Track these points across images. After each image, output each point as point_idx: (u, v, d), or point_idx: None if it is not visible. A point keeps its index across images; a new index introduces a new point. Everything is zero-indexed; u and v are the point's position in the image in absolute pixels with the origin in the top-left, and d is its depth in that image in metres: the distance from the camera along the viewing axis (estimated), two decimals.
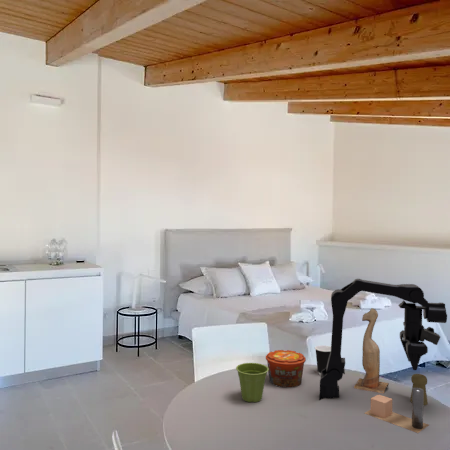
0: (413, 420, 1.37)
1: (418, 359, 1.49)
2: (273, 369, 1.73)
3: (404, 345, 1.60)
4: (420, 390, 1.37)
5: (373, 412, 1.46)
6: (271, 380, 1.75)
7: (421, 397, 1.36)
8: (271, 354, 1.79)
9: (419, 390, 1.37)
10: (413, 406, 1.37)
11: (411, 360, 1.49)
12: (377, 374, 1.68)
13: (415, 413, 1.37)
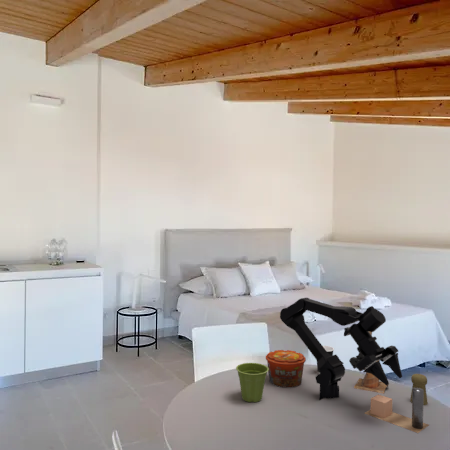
0: (413, 420, 1.37)
1: None
2: (273, 369, 1.73)
3: None
4: (420, 390, 1.37)
5: (373, 412, 1.46)
6: (271, 380, 1.75)
7: (421, 397, 1.36)
8: (271, 354, 1.79)
9: (419, 390, 1.37)
10: (413, 406, 1.37)
11: None
12: None
13: (415, 413, 1.37)
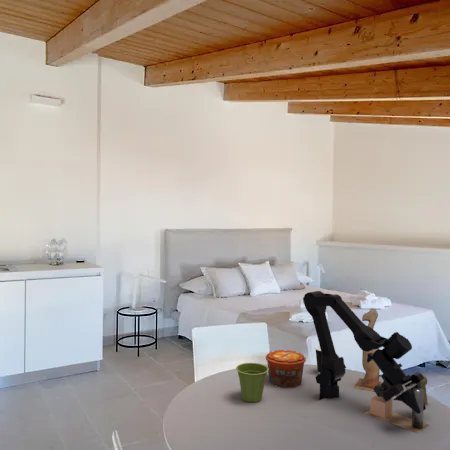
0: (413, 420, 1.37)
1: None
2: (273, 369, 1.73)
3: None
4: (420, 390, 1.37)
5: (373, 412, 1.46)
6: (271, 380, 1.75)
7: (421, 397, 1.36)
8: (271, 354, 1.79)
9: (419, 390, 1.37)
10: None
11: None
12: (377, 374, 1.68)
13: (415, 413, 1.37)
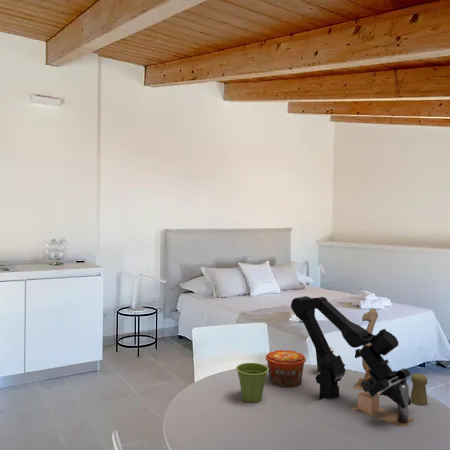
0: (398, 415, 1.41)
1: None
2: (273, 369, 1.73)
3: None
4: (405, 386, 1.40)
5: (360, 407, 1.49)
6: (271, 380, 1.75)
7: (406, 392, 1.40)
8: (271, 354, 1.79)
9: (404, 386, 1.40)
10: None
11: None
12: None
13: (400, 408, 1.40)
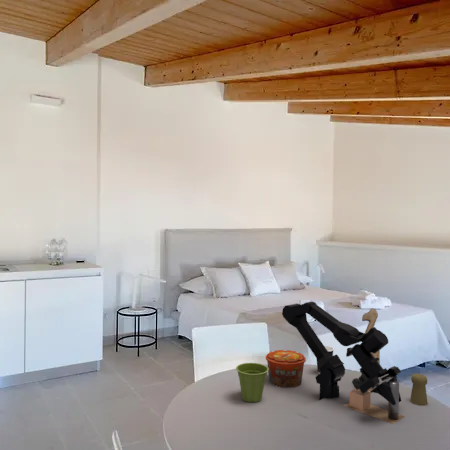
0: (389, 412, 1.43)
1: None
2: (273, 369, 1.73)
3: None
4: (395, 383, 1.43)
5: (352, 404, 1.52)
6: (271, 380, 1.75)
7: (396, 389, 1.42)
8: (271, 354, 1.79)
9: (395, 383, 1.43)
10: None
11: None
12: None
13: (390, 405, 1.42)
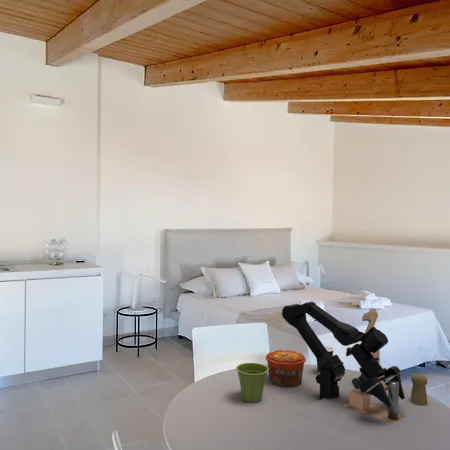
0: (389, 412, 1.43)
1: None
2: (273, 369, 1.73)
3: None
4: (395, 383, 1.43)
5: (352, 404, 1.52)
6: (271, 380, 1.75)
7: (396, 389, 1.42)
8: (271, 354, 1.79)
9: (394, 383, 1.43)
10: (389, 398, 1.43)
11: None
12: None
13: None
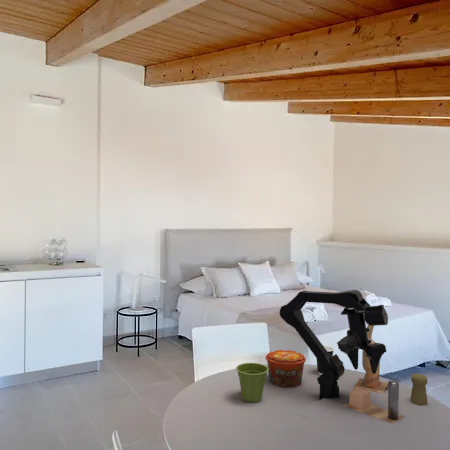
0: (389, 412, 1.43)
1: None
2: (273, 369, 1.73)
3: None
4: (395, 383, 1.43)
5: (352, 404, 1.52)
6: (271, 380, 1.75)
7: (396, 389, 1.42)
8: (271, 354, 1.79)
9: (394, 383, 1.43)
10: (389, 398, 1.43)
11: None
12: (377, 374, 1.68)
13: (390, 405, 1.42)
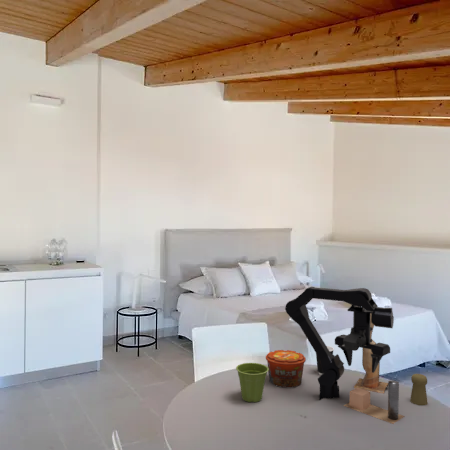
0: (389, 412, 1.43)
1: None
2: (273, 369, 1.73)
3: None
4: (395, 383, 1.43)
5: (352, 404, 1.52)
6: (271, 380, 1.75)
7: (396, 389, 1.42)
8: (271, 354, 1.79)
9: (394, 383, 1.43)
10: (389, 398, 1.43)
11: None
12: (377, 374, 1.68)
13: (390, 405, 1.42)
